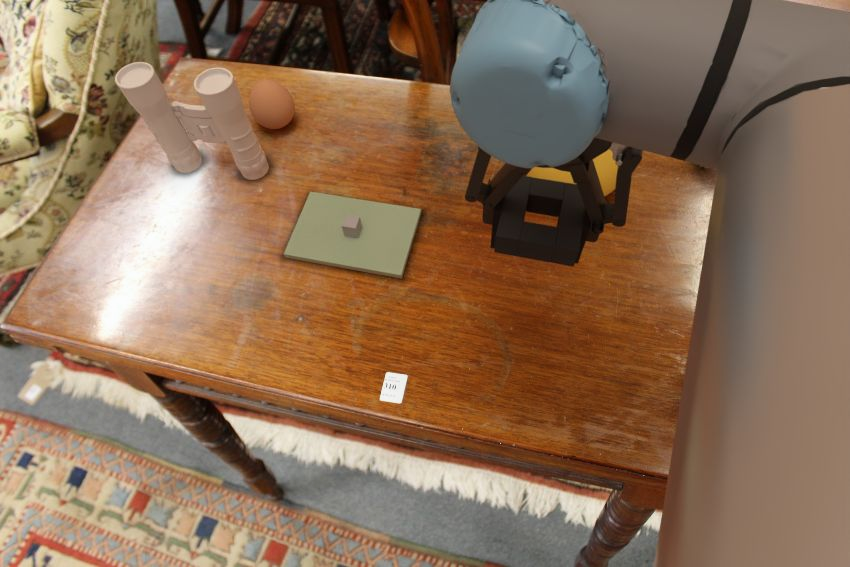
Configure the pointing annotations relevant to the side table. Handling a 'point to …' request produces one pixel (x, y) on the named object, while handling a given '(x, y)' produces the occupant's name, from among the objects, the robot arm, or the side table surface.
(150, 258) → the side table surface
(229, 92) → the binoculars
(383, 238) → the base mat
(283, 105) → the egg
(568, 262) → the dark square frame
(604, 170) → the teapot
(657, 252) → the side table surface
